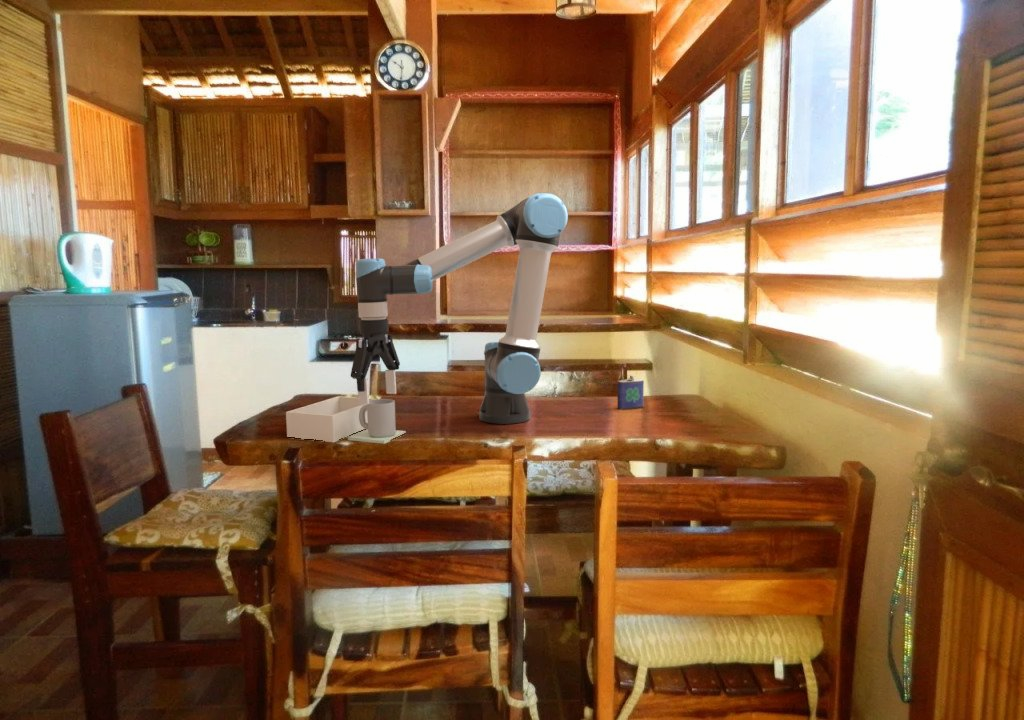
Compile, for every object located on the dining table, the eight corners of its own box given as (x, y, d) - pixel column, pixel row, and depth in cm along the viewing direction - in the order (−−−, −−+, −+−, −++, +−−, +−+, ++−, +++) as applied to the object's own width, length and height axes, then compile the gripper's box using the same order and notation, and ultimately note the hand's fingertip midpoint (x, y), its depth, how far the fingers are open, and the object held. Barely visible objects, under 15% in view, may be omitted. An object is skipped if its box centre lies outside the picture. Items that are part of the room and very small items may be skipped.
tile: (405, 433, 185) (405, 431, 185) (384, 443, 175) (384, 440, 175) (370, 430, 189) (370, 427, 189) (348, 440, 179) (347, 437, 179)
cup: (389, 438, 177) (388, 404, 176) (353, 436, 179) (352, 403, 178) (399, 431, 184) (398, 399, 183) (365, 430, 186) (364, 398, 185)
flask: (640, 406, 220) (641, 373, 219) (645, 408, 218) (646, 374, 216) (615, 408, 217) (616, 375, 215) (620, 410, 214) (620, 376, 213)
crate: (381, 422, 199) (381, 399, 198) (333, 442, 177) (332, 415, 176) (339, 419, 204) (338, 396, 203) (287, 437, 182) (285, 412, 181)
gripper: (386, 314, 191) (390, 389, 194) (332, 322, 168) (338, 407, 171) (409, 314, 188) (413, 390, 191) (358, 322, 165) (364, 408, 168)
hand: (378, 398), depth 181 cm, fingers open, 13 cm apart
